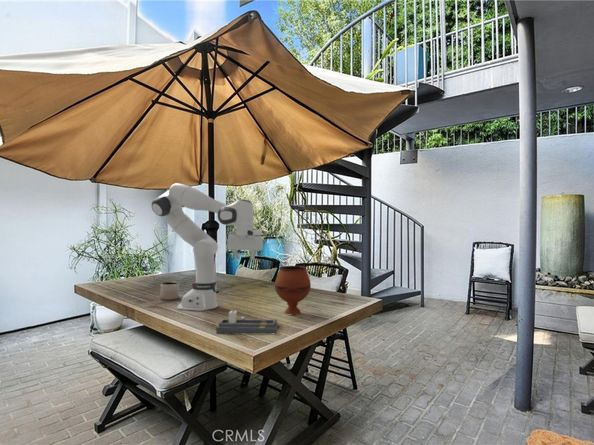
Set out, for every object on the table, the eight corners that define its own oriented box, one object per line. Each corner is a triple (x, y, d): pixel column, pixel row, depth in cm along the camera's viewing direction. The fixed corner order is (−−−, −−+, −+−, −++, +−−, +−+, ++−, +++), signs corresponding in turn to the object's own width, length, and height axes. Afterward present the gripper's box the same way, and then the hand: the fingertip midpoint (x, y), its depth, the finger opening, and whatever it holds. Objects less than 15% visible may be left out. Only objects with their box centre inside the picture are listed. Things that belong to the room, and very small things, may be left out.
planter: (156, 299, 209) (156, 284, 209) (168, 295, 220) (168, 281, 220) (171, 300, 206) (171, 285, 206) (182, 297, 216) (182, 282, 216)
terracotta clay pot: (267, 313, 181) (267, 266, 181) (292, 307, 195) (293, 263, 194) (291, 320, 167) (292, 270, 167) (317, 313, 181) (318, 267, 181)
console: (216, 333, 147) (216, 324, 147) (222, 324, 160) (222, 315, 160) (275, 334, 147) (275, 324, 147) (277, 324, 160) (277, 316, 160)
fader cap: (228, 324, 152) (228, 312, 152) (230, 321, 156) (230, 310, 156) (235, 324, 152) (235, 312, 152) (236, 321, 156) (237, 310, 156)
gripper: (224, 231, 171) (224, 258, 171) (257, 232, 161) (257, 261, 161) (232, 231, 176) (232, 257, 176) (264, 231, 166) (264, 259, 166)
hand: (244, 259), depth 168 cm, fingers open, 8 cm apart
